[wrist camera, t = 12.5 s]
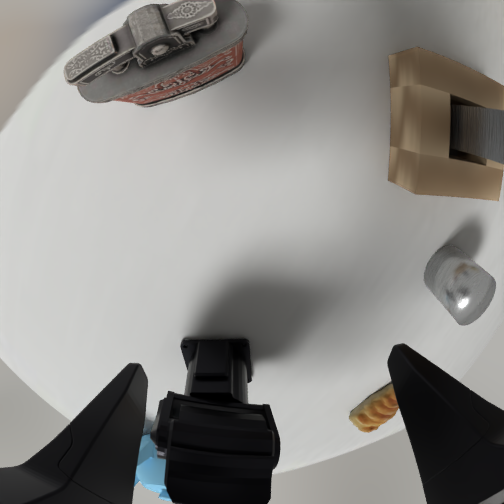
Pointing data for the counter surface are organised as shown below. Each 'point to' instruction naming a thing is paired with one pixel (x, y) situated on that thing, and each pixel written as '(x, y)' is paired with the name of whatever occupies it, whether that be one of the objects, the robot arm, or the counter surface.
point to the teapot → (151, 468)
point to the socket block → (438, 126)
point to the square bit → (477, 131)
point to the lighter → (163, 53)
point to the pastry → (375, 410)
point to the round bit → (459, 284)
